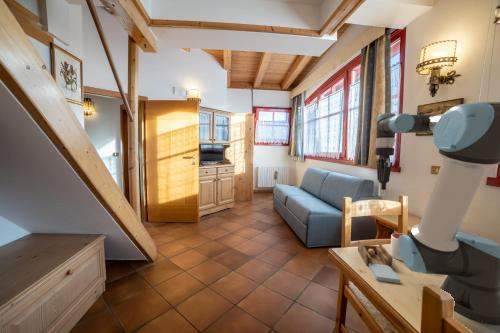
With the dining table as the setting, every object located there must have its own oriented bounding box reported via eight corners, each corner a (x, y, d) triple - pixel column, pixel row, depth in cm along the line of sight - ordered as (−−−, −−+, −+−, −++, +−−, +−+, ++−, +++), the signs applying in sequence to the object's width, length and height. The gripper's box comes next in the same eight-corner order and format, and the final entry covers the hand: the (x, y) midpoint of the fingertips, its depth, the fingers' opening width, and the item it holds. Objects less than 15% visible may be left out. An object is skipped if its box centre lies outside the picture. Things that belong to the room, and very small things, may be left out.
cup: (422, 263, 94) (423, 242, 93) (399, 263, 94) (400, 241, 93) (405, 252, 104) (407, 233, 103) (385, 252, 104) (386, 233, 103)
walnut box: (391, 269, 90) (392, 257, 89) (366, 265, 92) (366, 254, 92) (380, 253, 103) (380, 243, 103) (357, 251, 106) (358, 241, 105)
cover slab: (399, 284, 80) (399, 279, 80) (376, 281, 82) (376, 276, 82) (389, 270, 90) (389, 265, 90) (368, 267, 92) (368, 263, 92)
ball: (375, 257, 99) (375, 250, 99) (368, 256, 100) (368, 250, 100) (373, 254, 102) (373, 248, 102) (366, 253, 103) (367, 247, 103)
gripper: (400, 147, 93) (396, 199, 95) (388, 147, 105) (385, 193, 107) (381, 147, 94) (378, 198, 96) (371, 147, 107) (369, 192, 109)
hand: (382, 195), depth 102 cm, fingers closed
